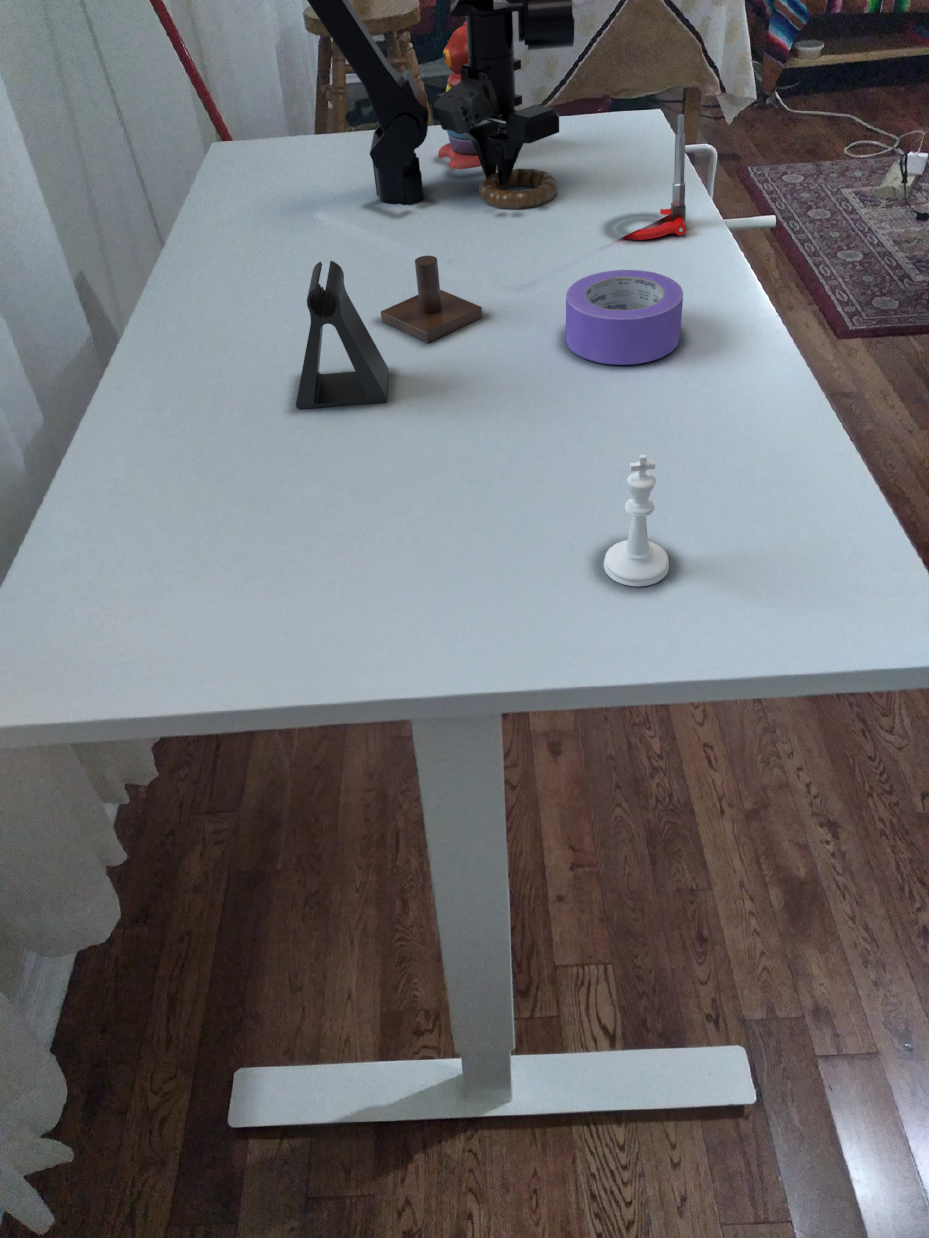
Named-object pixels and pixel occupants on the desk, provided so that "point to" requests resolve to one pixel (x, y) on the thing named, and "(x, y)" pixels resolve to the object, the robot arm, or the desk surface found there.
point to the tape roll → (623, 316)
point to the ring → (519, 199)
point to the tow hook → (678, 196)
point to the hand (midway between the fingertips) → (497, 182)
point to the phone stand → (358, 344)
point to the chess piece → (638, 535)
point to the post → (430, 307)
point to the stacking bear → (454, 58)
